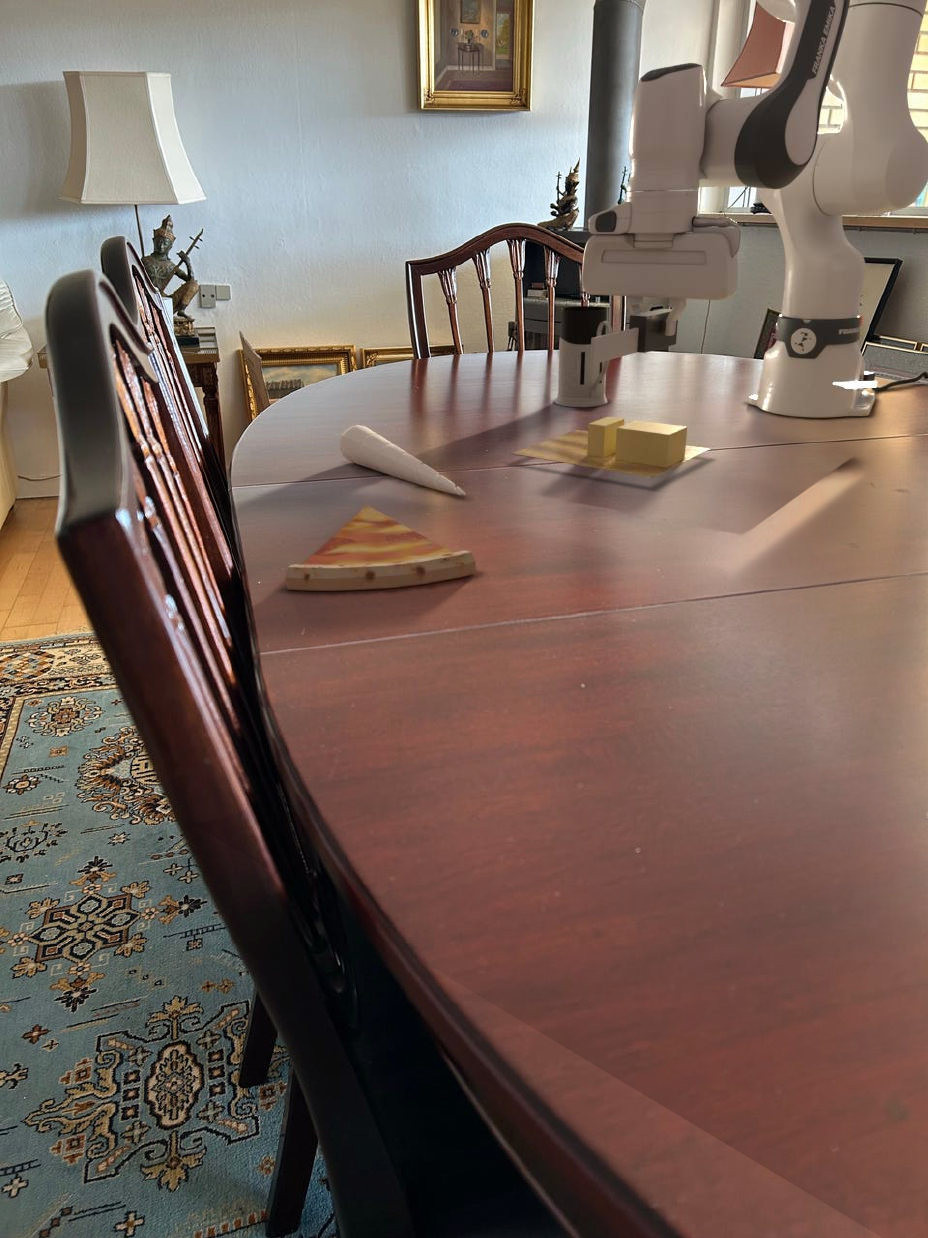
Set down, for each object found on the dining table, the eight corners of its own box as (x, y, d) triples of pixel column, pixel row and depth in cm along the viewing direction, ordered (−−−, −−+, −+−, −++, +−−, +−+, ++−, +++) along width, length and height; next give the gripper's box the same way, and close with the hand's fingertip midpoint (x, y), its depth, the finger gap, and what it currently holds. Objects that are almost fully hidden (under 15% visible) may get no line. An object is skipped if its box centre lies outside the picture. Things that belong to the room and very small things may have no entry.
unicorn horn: (438, 505, 100) (437, 463, 98) (338, 463, 118) (336, 427, 116) (473, 497, 102) (472, 456, 100) (370, 457, 120) (367, 421, 118)
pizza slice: (507, 520, 95) (507, 502, 94) (459, 603, 75) (458, 581, 74) (367, 512, 98) (365, 495, 97) (286, 590, 79) (284, 569, 78)
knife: (659, 342, 120) (662, 308, 118) (676, 344, 119) (678, 309, 117) (582, 363, 106) (584, 324, 104) (600, 365, 105) (602, 325, 103)
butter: (633, 451, 114) (635, 419, 113) (684, 458, 110) (687, 426, 109) (614, 459, 111) (616, 427, 109) (666, 467, 107) (669, 434, 105)
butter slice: (606, 446, 116) (607, 416, 115) (622, 449, 115) (624, 418, 113) (586, 455, 113) (588, 423, 111) (603, 457, 112) (604, 425, 110)
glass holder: (593, 395, 156) (596, 304, 149) (632, 410, 143) (637, 312, 137) (547, 399, 153) (548, 307, 147) (582, 415, 141) (586, 315, 135)
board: (576, 439, 127) (576, 429, 126) (709, 459, 115) (710, 448, 115) (511, 464, 115) (511, 453, 115) (652, 489, 104) (653, 477, 103)
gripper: (752, 215, 106) (740, 336, 112) (602, 217, 118) (597, 326, 124) (731, 216, 102) (719, 342, 108) (577, 218, 113) (574, 332, 119)
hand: (653, 334), depth 116 cm, fingers closed on knife, 2 cm apart
